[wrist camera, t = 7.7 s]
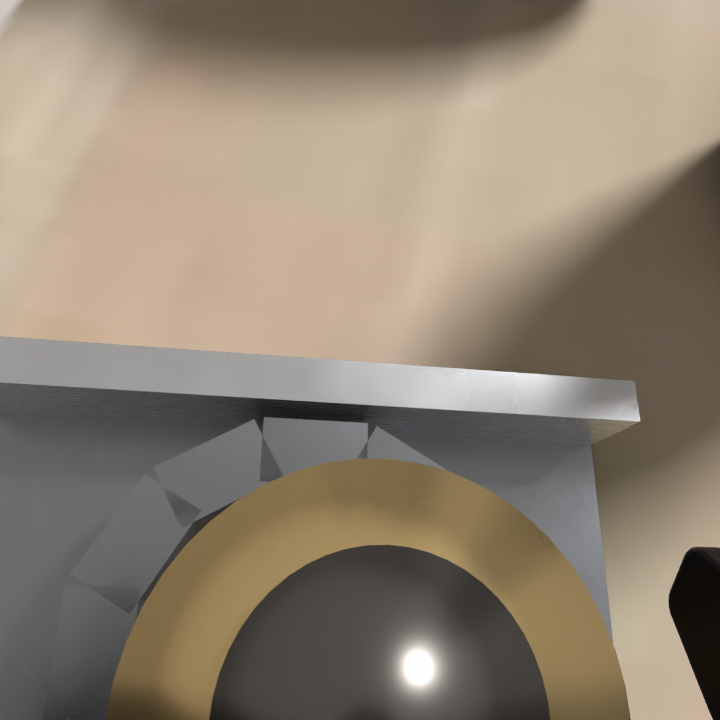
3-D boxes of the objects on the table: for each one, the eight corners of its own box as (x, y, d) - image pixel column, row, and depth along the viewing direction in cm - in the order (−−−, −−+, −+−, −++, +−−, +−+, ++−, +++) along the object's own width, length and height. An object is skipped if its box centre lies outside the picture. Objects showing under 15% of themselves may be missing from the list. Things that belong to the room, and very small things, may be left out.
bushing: (426, 712, 15) (738, 895, 5) (233, 803, 13) (193, 1245, 4) (356, 522, 16) (508, 395, 6) (174, 590, 15) (38, 557, 5)
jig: (638, 1094, 14) (755, 1241, 10) (-155, 1166, 12) (-305, 1375, 8) (570, 418, 19) (634, 380, 16) (13, 384, 17) (-42, 333, 14)
